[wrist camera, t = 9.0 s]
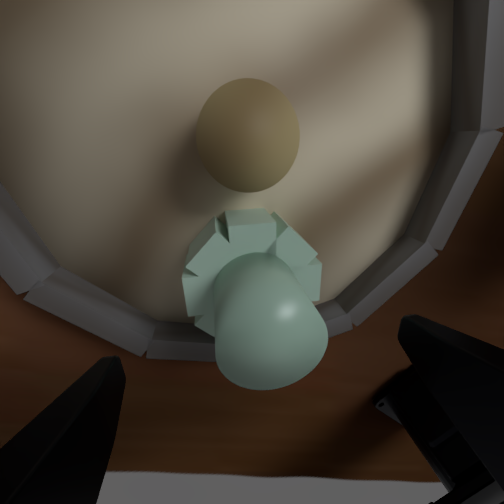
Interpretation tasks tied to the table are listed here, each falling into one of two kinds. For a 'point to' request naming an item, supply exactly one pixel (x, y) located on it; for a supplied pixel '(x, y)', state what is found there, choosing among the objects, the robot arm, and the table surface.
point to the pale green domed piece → (256, 298)
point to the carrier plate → (148, 108)
